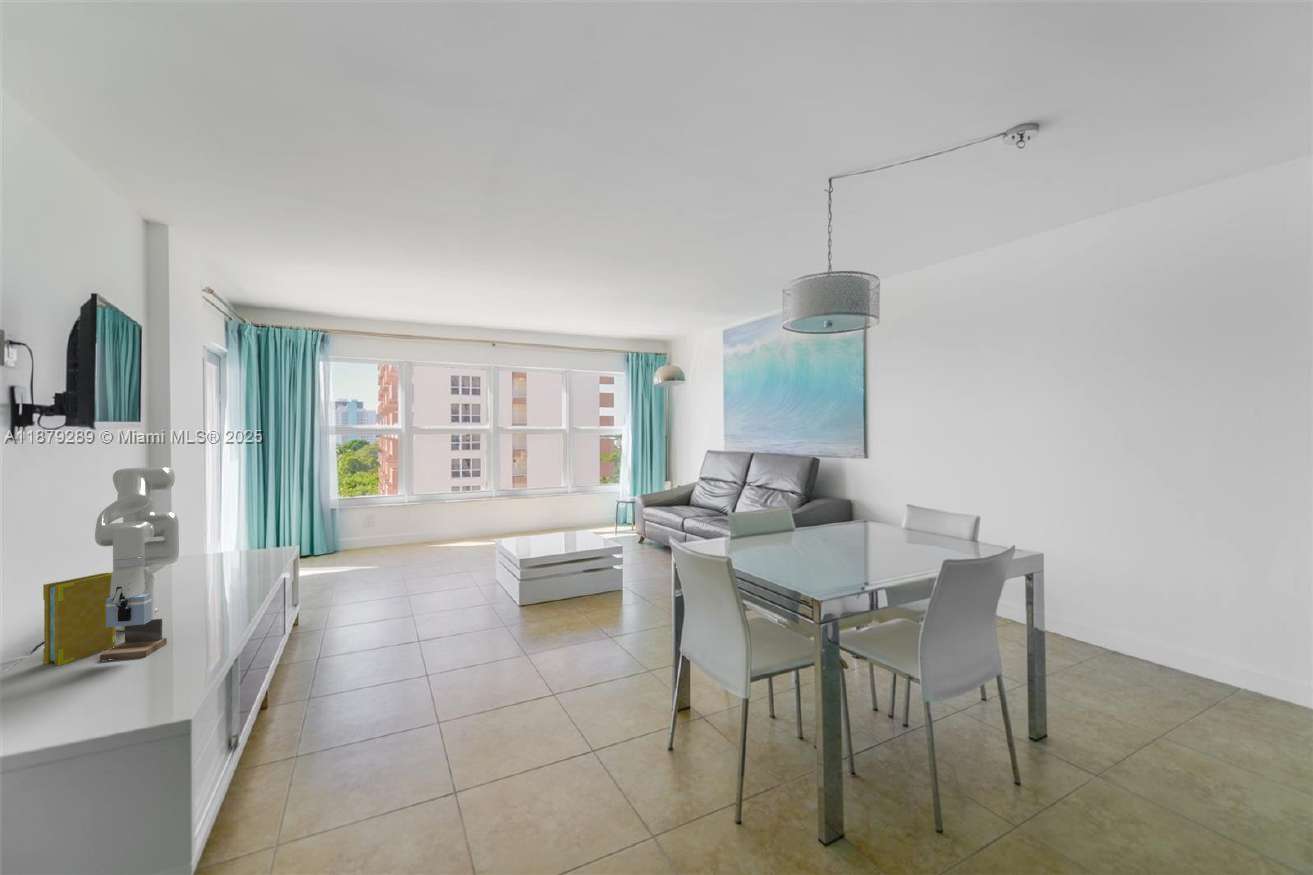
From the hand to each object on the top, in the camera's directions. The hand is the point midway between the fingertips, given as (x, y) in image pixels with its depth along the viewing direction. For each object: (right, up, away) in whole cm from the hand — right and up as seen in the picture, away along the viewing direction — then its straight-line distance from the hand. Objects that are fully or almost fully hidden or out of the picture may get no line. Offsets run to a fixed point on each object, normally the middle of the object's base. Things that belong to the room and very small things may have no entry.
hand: (128, 618), depth 181 cm
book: (-16, -12, +1) cm, 20 cm away
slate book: (0, -2, 0) cm, 2 cm away
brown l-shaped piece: (-1, -12, +3) cm, 13 cm away
